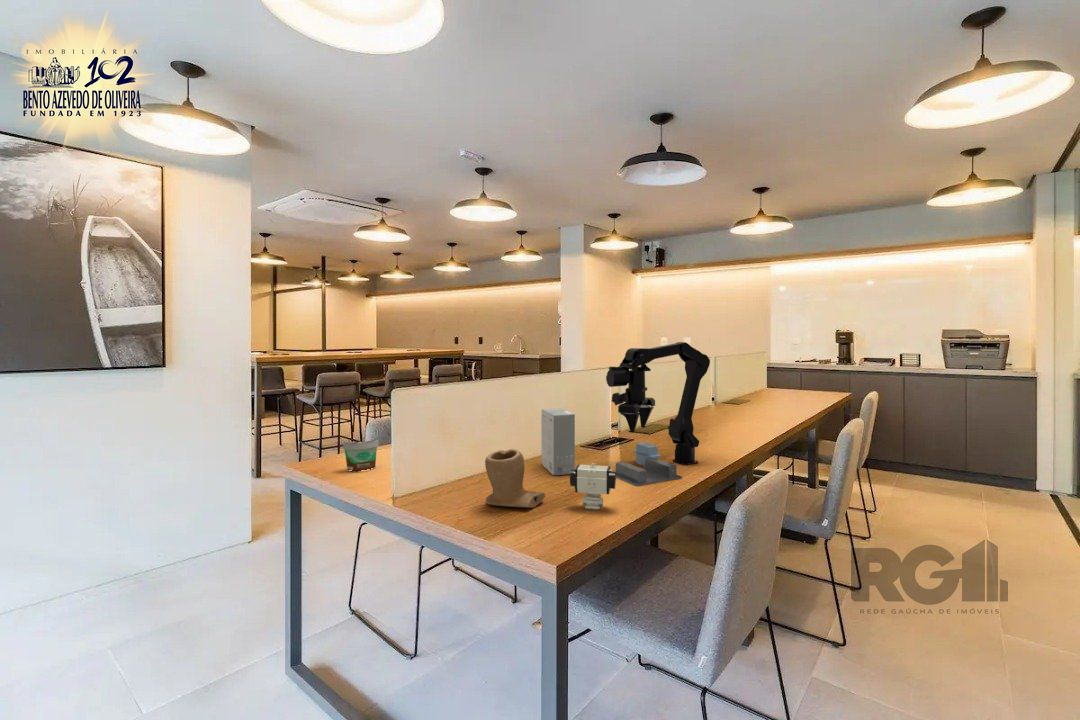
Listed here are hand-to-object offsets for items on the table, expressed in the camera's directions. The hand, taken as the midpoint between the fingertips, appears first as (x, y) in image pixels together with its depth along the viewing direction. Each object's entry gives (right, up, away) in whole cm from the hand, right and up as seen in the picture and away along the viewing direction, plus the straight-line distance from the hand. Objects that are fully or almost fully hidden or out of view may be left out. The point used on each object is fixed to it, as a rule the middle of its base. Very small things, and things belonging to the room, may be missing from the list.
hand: (637, 429), depth 172 cm
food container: (-94, -14, -1) cm, 95 cm away
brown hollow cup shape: (-41, -16, -37) cm, 57 cm away
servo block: (+4, -13, +4) cm, 14 cm away
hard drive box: (-28, -14, -1) cm, 31 cm away
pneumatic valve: (-20, -16, -40) cm, 47 cm away
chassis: (0, -14, -11) cm, 17 cm away
